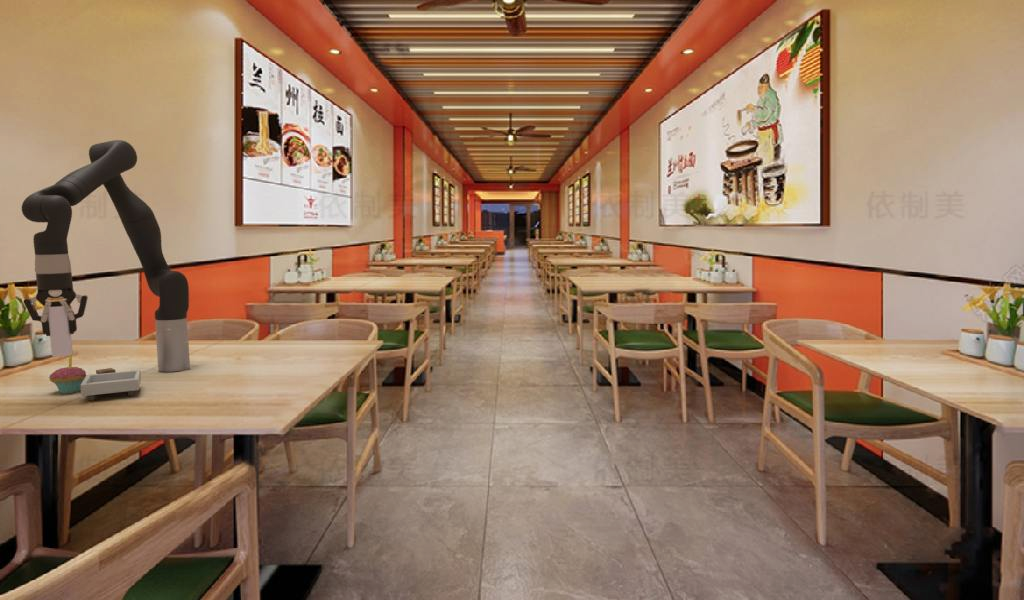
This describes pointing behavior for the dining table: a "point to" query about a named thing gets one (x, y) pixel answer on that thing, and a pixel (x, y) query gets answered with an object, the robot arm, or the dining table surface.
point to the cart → (110, 383)
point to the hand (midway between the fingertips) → (60, 334)
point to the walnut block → (105, 371)
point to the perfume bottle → (59, 327)
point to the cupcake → (68, 378)
